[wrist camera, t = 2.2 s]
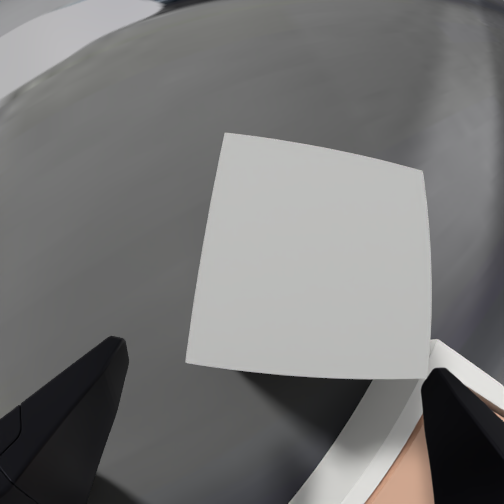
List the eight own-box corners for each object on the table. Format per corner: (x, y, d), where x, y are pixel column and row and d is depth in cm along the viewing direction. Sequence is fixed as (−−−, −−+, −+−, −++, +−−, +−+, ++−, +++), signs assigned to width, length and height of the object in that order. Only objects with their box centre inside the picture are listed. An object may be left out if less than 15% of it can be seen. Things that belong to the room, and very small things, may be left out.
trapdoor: (404, 559, 12) (429, 582, 9) (298, 534, 13) (312, 568, 10) (492, 427, 16) (528, 433, 12) (406, 377, 17) (445, 381, 13)
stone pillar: (302, 360, 18) (427, 378, 6) (215, 350, 18) (185, 362, 6) (310, 276, 19) (422, 171, 7) (227, 265, 19) (224, 132, 7)
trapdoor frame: (399, 569, 13) (427, 597, 8) (260, 535, 14) (268, 578, 9) (501, 412, 17) (545, 417, 12) (392, 342, 18) (437, 339, 13)
